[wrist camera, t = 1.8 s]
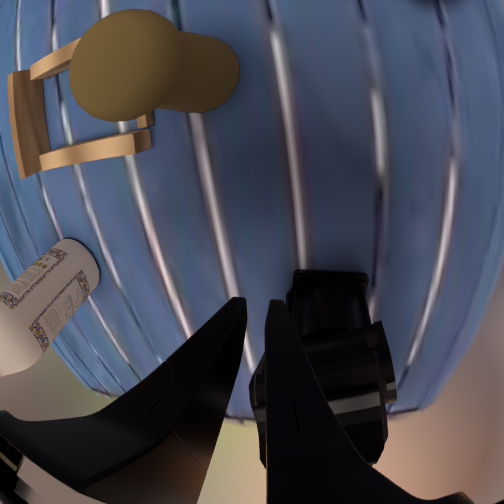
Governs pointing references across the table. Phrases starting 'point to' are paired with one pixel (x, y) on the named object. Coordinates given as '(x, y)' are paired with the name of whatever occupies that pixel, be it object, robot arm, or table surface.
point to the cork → (149, 68)
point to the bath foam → (43, 303)
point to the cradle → (35, 128)
